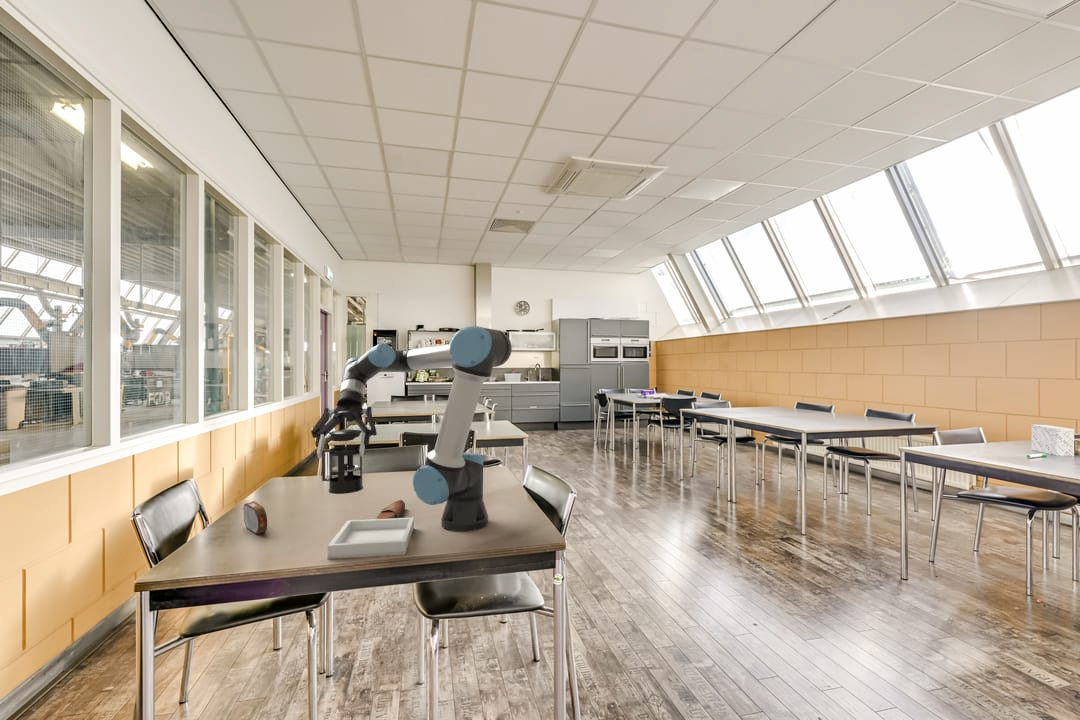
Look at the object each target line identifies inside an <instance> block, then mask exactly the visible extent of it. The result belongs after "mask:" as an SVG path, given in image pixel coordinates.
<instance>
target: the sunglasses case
mask: <svg viewBox="0 0 1080 720" xmlns="http://www.w3.org/2000/svg"><path fill="white" fill-rule="evenodd" d="M405 508H406V503H405V501H403V500H402V499H399V500H397V501H394V502H391V503H390V504H388V505H386V506H385V507H384V508H382V509H381V510H380V512H379V513H378V516H376V518H375V519H391V518H402V515H403V512H404V511H405Z"/></svg>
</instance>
